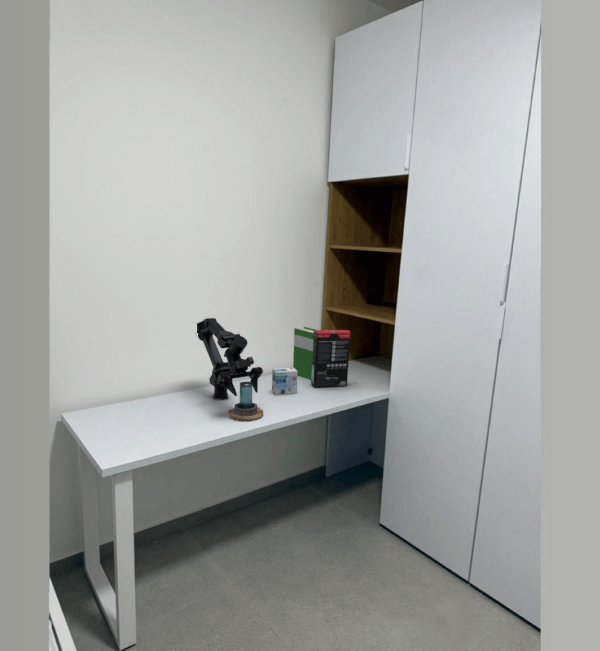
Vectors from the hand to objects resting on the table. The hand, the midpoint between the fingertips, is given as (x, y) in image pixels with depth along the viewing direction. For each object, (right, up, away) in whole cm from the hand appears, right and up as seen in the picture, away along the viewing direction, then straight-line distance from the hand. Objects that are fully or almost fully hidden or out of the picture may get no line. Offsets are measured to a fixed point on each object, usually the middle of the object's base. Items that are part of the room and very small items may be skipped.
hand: (246, 394), depth 200 cm
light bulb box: (+14, -4, +31) cm, 35 cm away
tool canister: (-1, -8, +2) cm, 8 cm away
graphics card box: (+36, -2, +43) cm, 56 cm away
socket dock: (-1, -9, +2) cm, 9 cm away
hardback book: (+26, +1, +56) cm, 62 cm away
